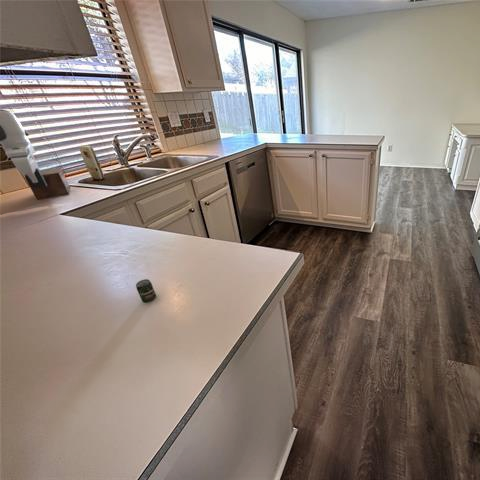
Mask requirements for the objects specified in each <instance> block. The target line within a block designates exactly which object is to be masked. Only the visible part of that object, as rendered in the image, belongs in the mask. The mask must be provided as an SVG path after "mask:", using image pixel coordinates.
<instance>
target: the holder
mask: <svg viewBox="0 0 480 480" xmlns="http://www.w3.org/2000/svg"><path fill="white" fill-rule="evenodd" d="M35 170H36V171H35V172H34V174H35V176H36V178H37V179H38V182H37V183H33V182H32V180H31V179H30V178H29V177H28V175H23V176H24V178H25V177H26V179H27V181H28V182H27V181H26V182H27V184H28V183H29V184H30V186H31V188H32V189H36V188H43V187H47V183H46V181H45V179H44V177H43V175H42V173H41V172H40V168H39V167H38V168H36V169H35ZM26 179H25V180H26ZM29 184H28V185H29ZM30 186H29V187H30ZM31 188H30V189H31Z"/></svg>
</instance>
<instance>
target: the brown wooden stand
mask: <svg viewBox="0 0 480 480" xmlns="http://www.w3.org/2000/svg"><path fill="white" fill-rule="evenodd" d="M39 170H40V169H39ZM40 172H41V173H42V175H43V177H44V179H45V181H46V183H47V187H43V188H36V189H32V188H31V186H30V184H29V183H28V181H27V179H26V177H25V176H24V179H25V181H26V183H27V184H28V186H29V188H30V189H31V191H32V194H33V195H34V197H35V199H36V200H44V199H50V197H51V198H56V197H63V196H69V195H70V192H71V185H70V184H69V182H68V180H67V178H66V175H65V173H64V172H63V169H62V167H56V168H49V169H41V170H40Z"/></svg>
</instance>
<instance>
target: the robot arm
mask: <svg viewBox="0 0 480 480" xmlns="http://www.w3.org/2000/svg"><path fill="white" fill-rule="evenodd" d="M0 145H1V146H2V149H3V150H4V152H5V155H6V157H7V158H10V160H11V162H12V163H13V165H14V166H15V168H16V169H17V171H18V173H20V174H21V175H22V176H24V175H28V177H29V178H30V179H31V180H32V182H33V183H37V182H38V179H37V178H36V176H35V174H34V172H35V171H36V170H35V169H36V168H39V164H38V162H37V160H36V159H35V157H34V155H33V154H36V151H35V149H34V147H33V144H32V143H31V140H29V138H28V137H27V135H26V131H25V128H24V127H23V125H22V124H21V121H20V120H19V119H18V118H17V116H16V115H15V114H14V113H13V112H11V111H9V110H7V109H0Z"/></svg>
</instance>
